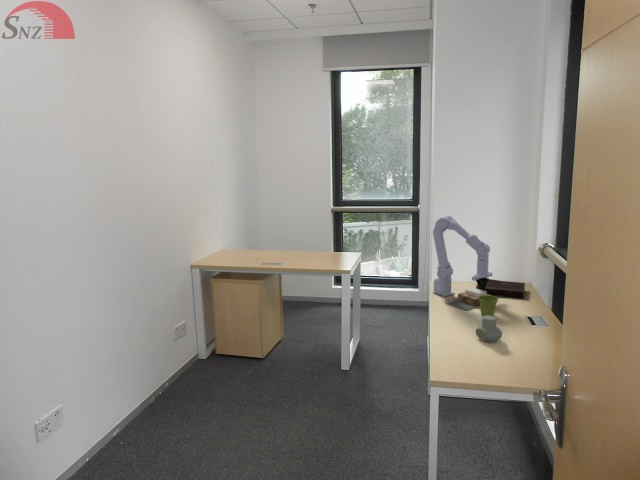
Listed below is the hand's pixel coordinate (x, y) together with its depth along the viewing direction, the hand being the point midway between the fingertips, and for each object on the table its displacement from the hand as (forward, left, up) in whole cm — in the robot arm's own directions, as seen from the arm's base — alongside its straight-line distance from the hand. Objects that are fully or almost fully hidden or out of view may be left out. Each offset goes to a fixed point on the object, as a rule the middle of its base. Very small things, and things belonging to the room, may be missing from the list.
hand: (481, 291), depth 256 cm
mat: (0, -16, -5) cm, 17 cm away
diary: (-2, +19, -5) cm, 20 cm away
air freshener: (+36, -41, -5) cm, 55 cm away
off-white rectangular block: (0, -5, -1) cm, 5 cm away
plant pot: (+17, -17, -5) cm, 25 cm away
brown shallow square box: (0, -6, -5) cm, 8 cm away
